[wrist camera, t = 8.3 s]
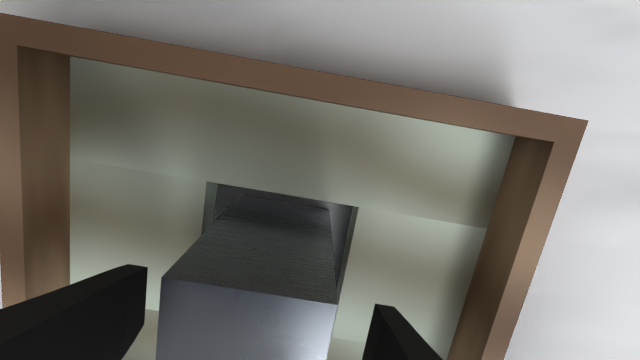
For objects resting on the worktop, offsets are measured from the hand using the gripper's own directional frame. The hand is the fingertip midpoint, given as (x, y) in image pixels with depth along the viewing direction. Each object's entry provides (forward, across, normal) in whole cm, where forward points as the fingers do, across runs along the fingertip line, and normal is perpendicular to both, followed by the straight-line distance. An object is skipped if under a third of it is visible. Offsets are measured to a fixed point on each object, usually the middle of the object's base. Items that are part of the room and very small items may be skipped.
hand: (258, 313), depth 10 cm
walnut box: (+5, 0, 0) cm, 5 cm away
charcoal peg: (+5, 0, 0) cm, 5 cm away
